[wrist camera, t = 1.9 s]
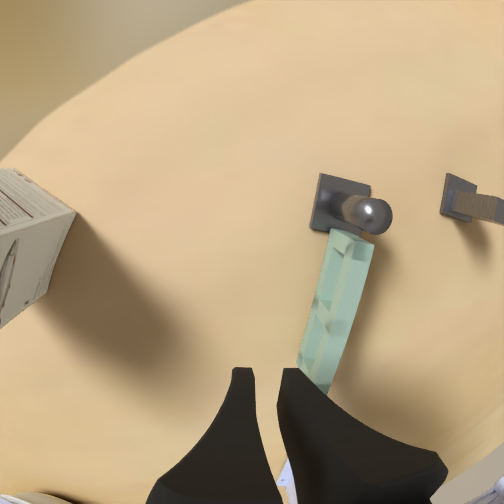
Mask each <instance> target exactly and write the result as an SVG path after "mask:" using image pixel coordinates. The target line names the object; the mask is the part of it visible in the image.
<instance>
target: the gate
mask: <svg viewBox="0 0 504 504" xmlns="http://www.w3.org/2000/svg"><path fill="white" fill-rule="evenodd" d="M374 246H375V245H374V244H372V243H370V242H368V241H366V240H364V239H362V238H360V237H358V236H356V235H354V234H352V233H350V232H348V231H344V230H339V229H333V228H331V230H330V234H329V239H328V243H327V248H326V252H325V256H324V261H323V265H322V269H321V273H320V277H319V281H318V285H317V289H316V293H315V297H314V301H313V305H312V308H311V312H310V316H309V320H308V323H307V327H306V330H305V334H304V338H303V341H302V345H301V348H300V351H299V355H298V358H297V365H298V367H299V369H300V370H301V371H302V372H303V373H304V374H305V375H306V376H307V377H308V378H309V379H310V380H311V381H312V382H313V383H314V384H315V385H316V386H317V387H318V388H319V389H320V390H321V391H322V392H323V393H324V394H325V395H326V396H327V393H328V391H329V388H330V386H331V383H332V380H333V378H334V375H335V372H336V370H337V367H338V364H339V362H340V359H341V356H342V353H343V350H344V348H345V345H346V342H347V339H348V336H349V333H350V330H351V327H352V324H353V321H354V317H355V314H356V311H357V308H358V305H359V301H360V298H361V294H362V291H363V288H364V284H365V280H366V277H367V273H368V269H369V266H370V262H371V258H372V254H373V250H374Z"/></svg>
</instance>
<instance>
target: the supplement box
mask: <svg viewBox="0 0 504 504" xmlns="http://www.w3.org/2000/svg"><path fill="white" fill-rule="evenodd" d="M76 214H77V213H76V212H75V211H74V210H72V209H71V208H69V207H68V206H67V205H65V204H64V203H62V202H61V201H59V200H58V199H57V198H55V197H54V196H52V195H51V194H49V193H48V192H47V191H45V190H44V189H42V188H41V187H40V186H38V185H37V184H36V183H34V182H33V181H31V180H30V179H29V178H27V177H26V176H24V175H23V174H22V173H20V172H19V171H18V170H16V169H15V168H0V329H1V328H2V327H3V326H5V325H6V324H7V323H8V322H9V321H11V320H12V319H13V318H14V317H16V316H17V315H18V314H20V313H21V312H22V311H24V310H25V309H26V308H27V307H29V306H30V305H31V304H33V303H34V302H35V301H37V300H38V299H39V298H40V297H42V296H43V295H44V294H46V293H47V289H48V285H49V282H50V278H51V275H52V272H53V269H54V266H55V263H56V260H57V257H58V255H59V252H60V250H61V247H62V245H63V242H64V240H65V238H66V235H67V233H68V231H69V228H70V226H71V224H72V222H73V220H74V218H75V216H76Z"/></svg>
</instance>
